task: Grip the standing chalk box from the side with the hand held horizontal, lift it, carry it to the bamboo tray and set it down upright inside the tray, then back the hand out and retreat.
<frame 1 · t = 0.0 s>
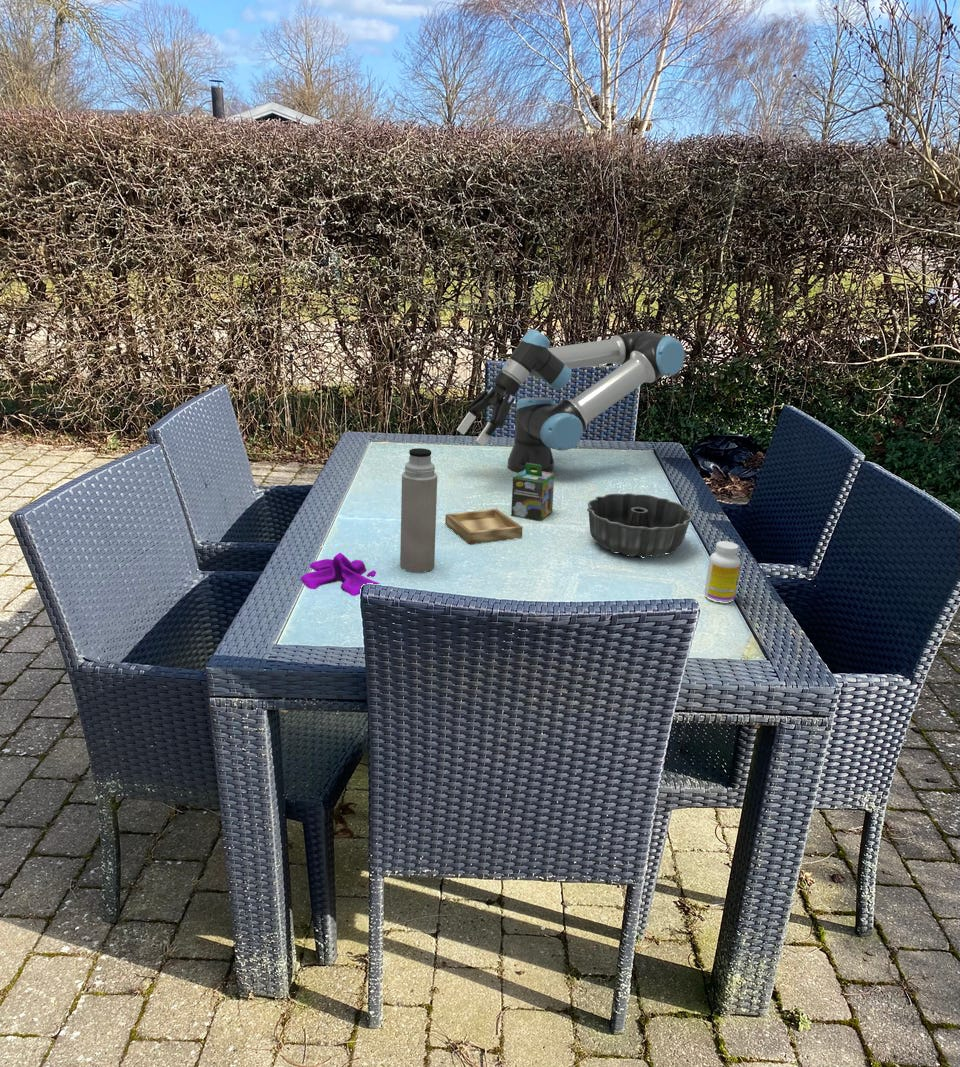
hand: (469, 437, 263), 15 cm above the table, tool tilted 35°, fingers open, 13 cm apart
supplement bottle: (719, 599, 199), on the table
chalk box: (531, 514, 248), on the table
bundt pan: (635, 546, 228), on the table
thermos bottle: (417, 567, 208), on the table
cloth: (343, 577, 202), on the table
bamboo tray: (483, 531, 233), on the table
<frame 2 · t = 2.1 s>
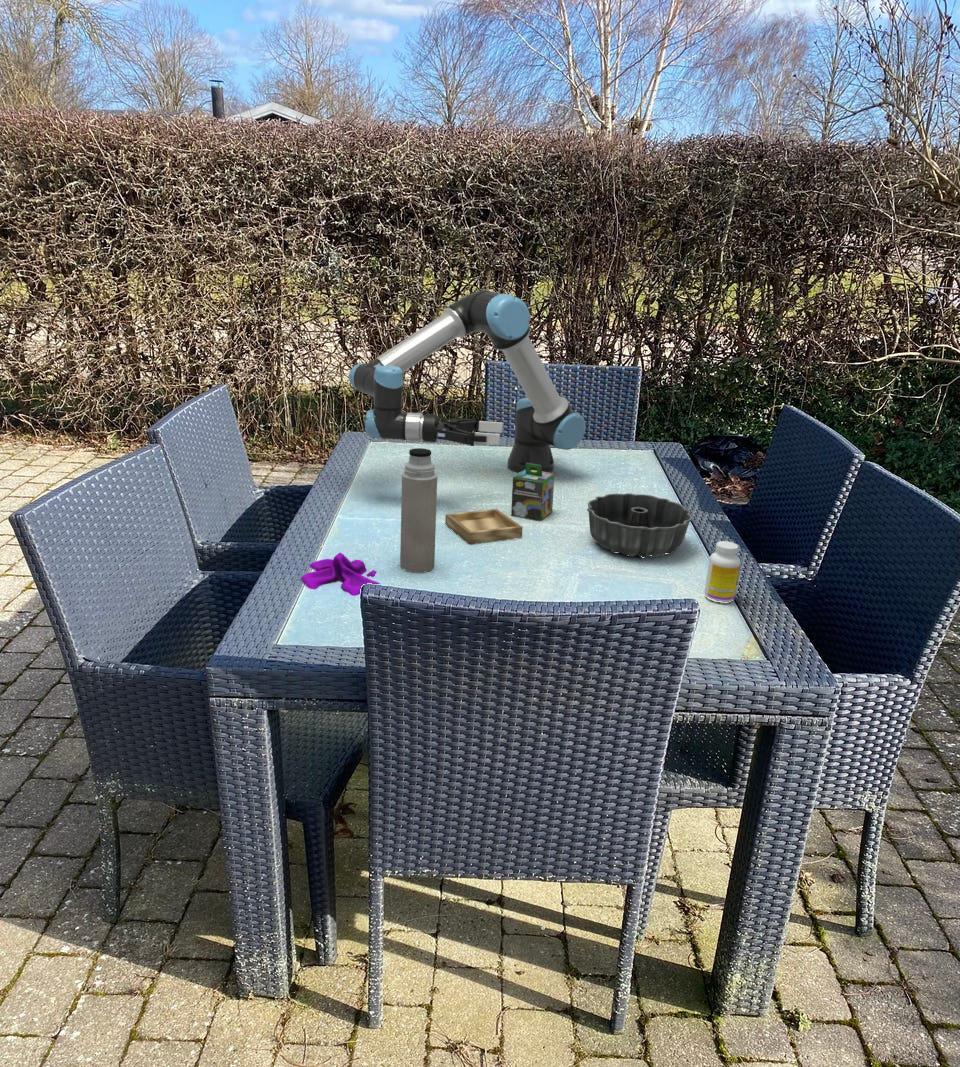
hand: (501, 433, 241), 22 cm above the table, tool horizontal, fingers open, 13 cm apart
nothing on the table moved.
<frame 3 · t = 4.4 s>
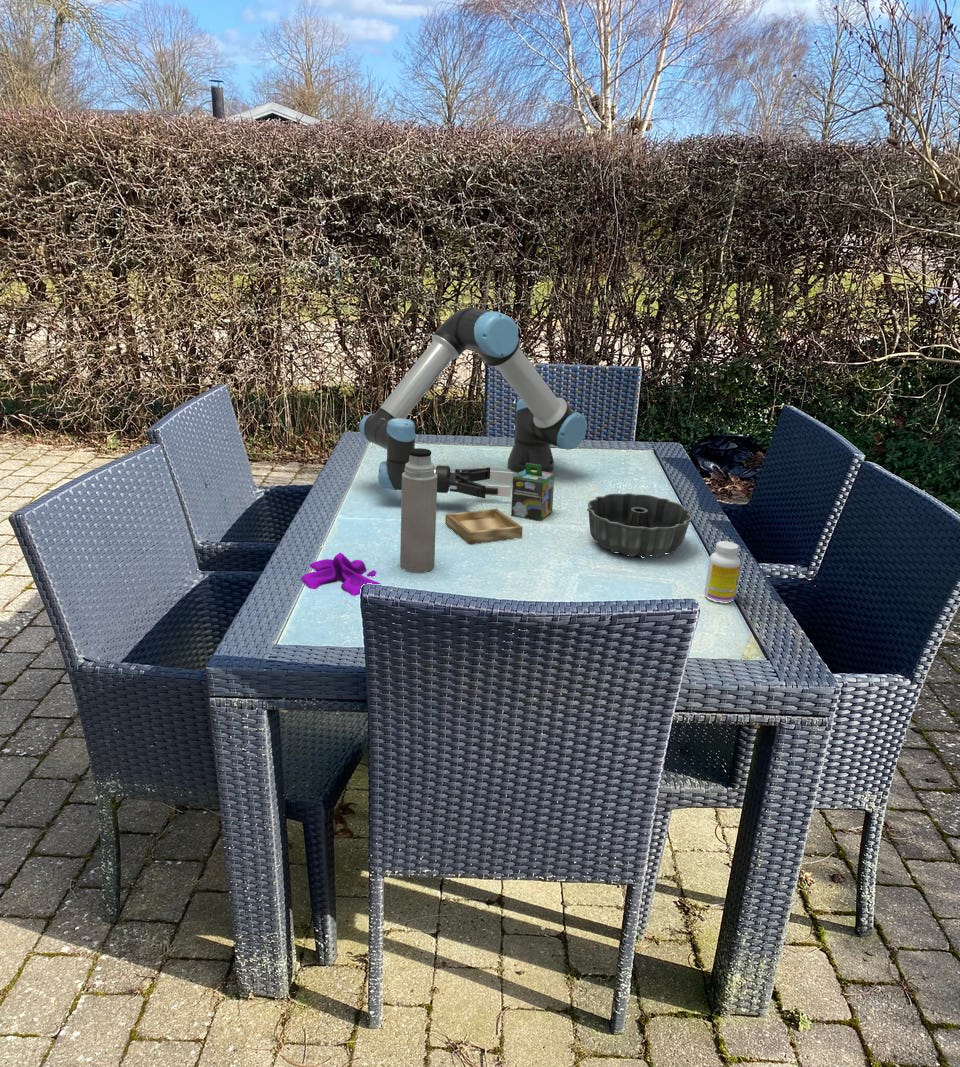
hand: (512, 484, 245), 8 cm above the table, tool horizontal, fingers open, 13 cm apart
nothing on the table moved.
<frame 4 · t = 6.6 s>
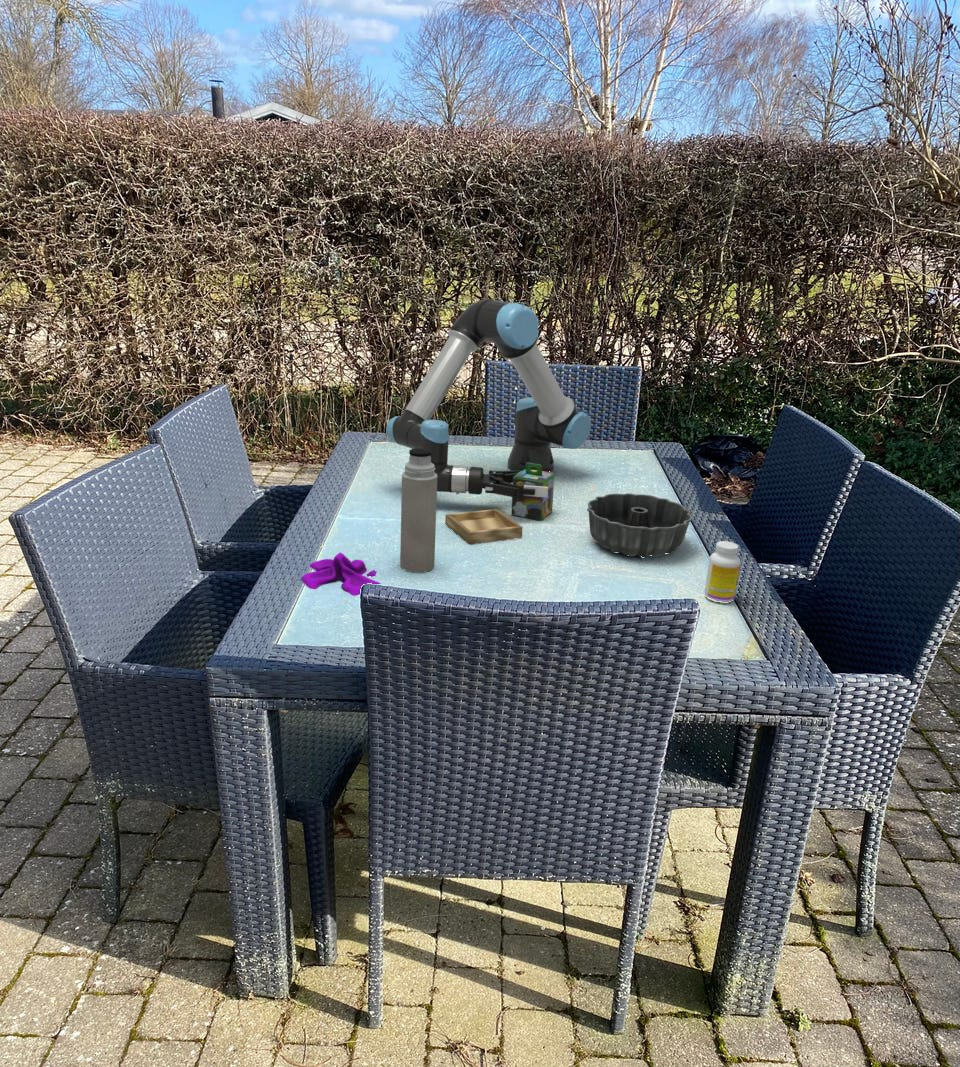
hand: (547, 485, 244), 9 cm above the table, tool horizontal, fingers closed on chalk box, 11 cm apart
chalk box: (531, 514, 248), on the table, touching gripper
everything else where it was.
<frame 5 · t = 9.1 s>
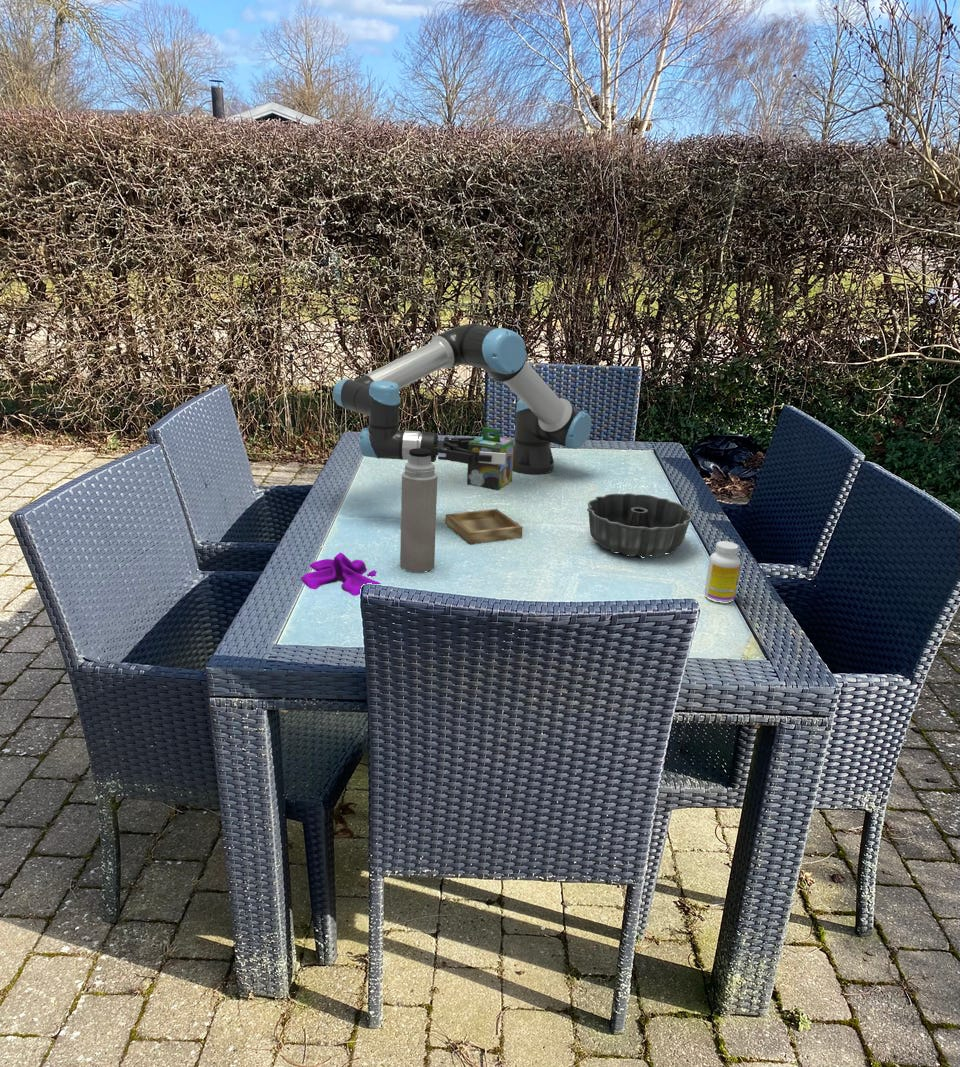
hand: (506, 452, 226), 21 cm above the table, tool horizontal, fingers closed on chalk box, 11 cm apart
chalk box: (489, 484, 230), point 12 cm above the table, touching gripper
everything else where it was.
when the fingers open (11 cm above the table, at t = 11.7 s): chalk box drops 1 cm, resting on bamboo tray.
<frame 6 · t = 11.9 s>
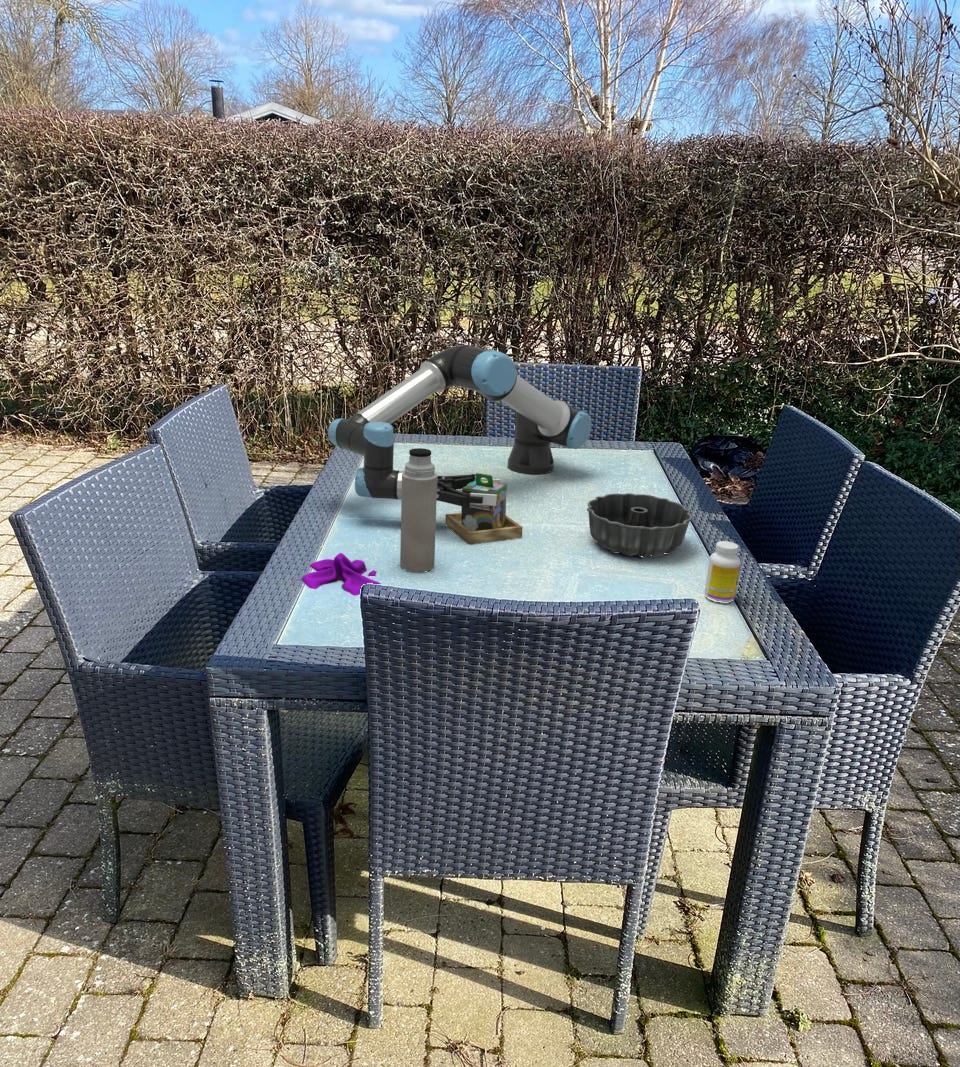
hand: (498, 492, 229), 11 cm above the table, tool horizontal, fingers open, 13 cm apart
chalk box: (482, 528, 232), point 1 cm above the table, touching bamboo tray
everything else where it was.
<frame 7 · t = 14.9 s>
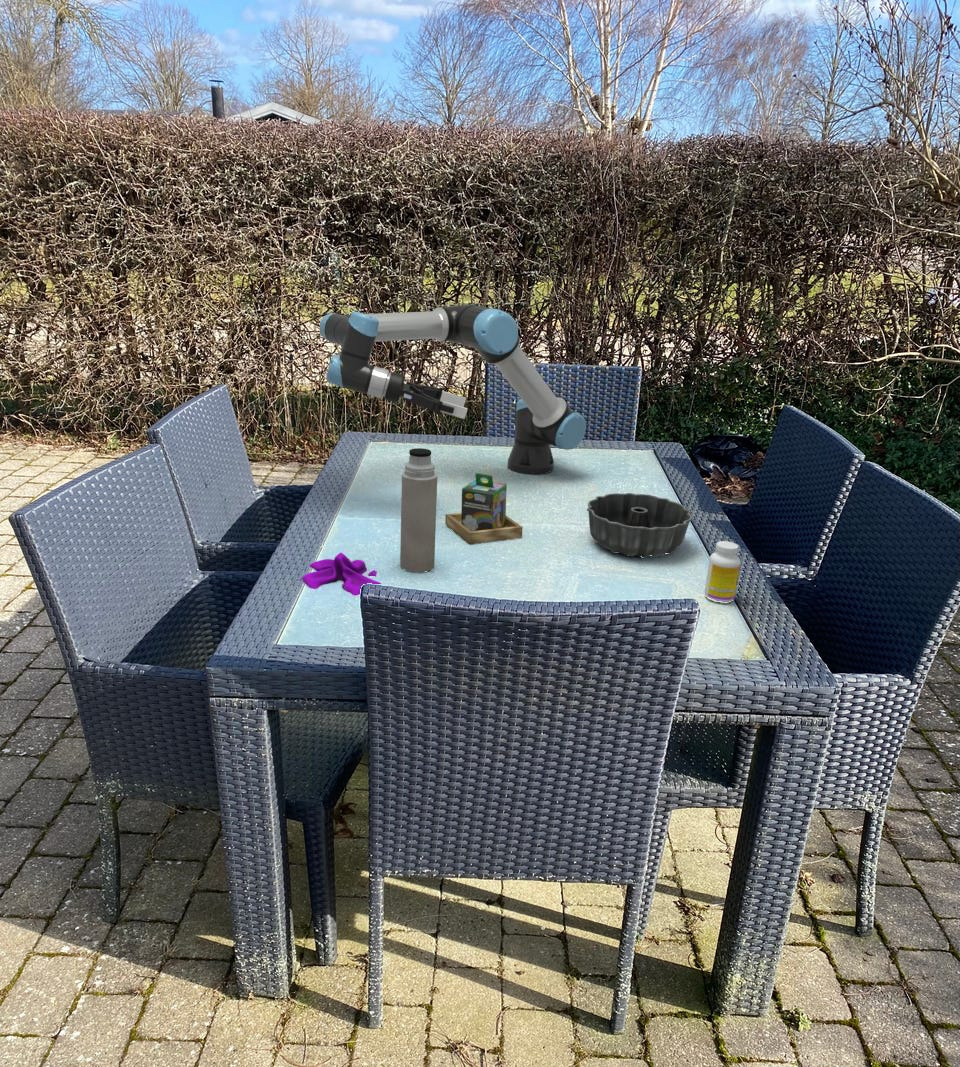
hand: (465, 408, 234), 30 cm above the table, tool horizontal, fingers open, 13 cm apart
nothing on the table moved.
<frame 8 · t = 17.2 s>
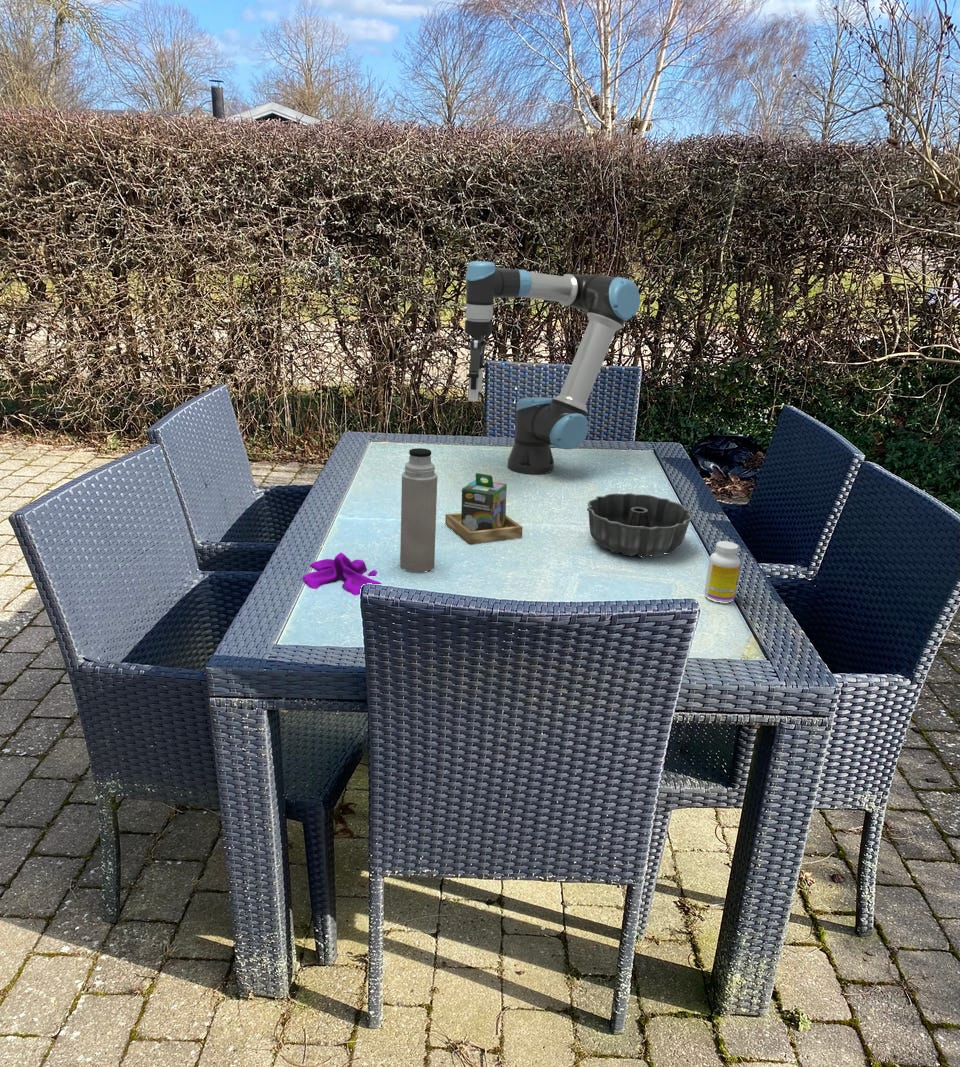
hand: (475, 396, 254), 29 cm above the table, tool pointing down, fingers open, 13 cm apart
nothing on the table moved.
at the end: chalk box inside the target area on the bamboo tray (0.1 cm from its centre), point 0.8 cm above the bamboo tray's base; chalk box tilted 0°; the gripper is holding nothing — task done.
